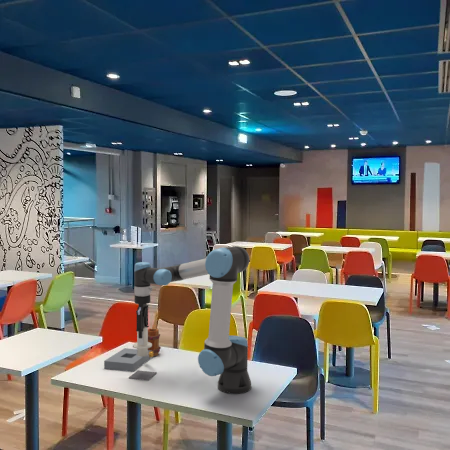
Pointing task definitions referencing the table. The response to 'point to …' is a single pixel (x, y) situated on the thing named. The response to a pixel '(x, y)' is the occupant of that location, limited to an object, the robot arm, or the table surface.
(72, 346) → the table surface
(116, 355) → the socket
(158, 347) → the mug
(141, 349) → the plug
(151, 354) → the clip
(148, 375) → the pad
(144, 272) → the robot arm
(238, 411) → the table surface
